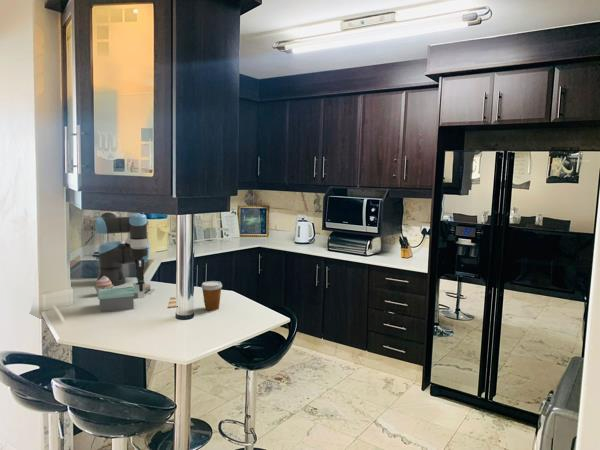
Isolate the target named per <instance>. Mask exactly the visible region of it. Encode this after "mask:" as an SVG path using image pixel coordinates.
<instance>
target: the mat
mask: <svg viewBox="0 0 600 450" xmlns="http://www.w3.org/2000/svg"><path fill="white" fill-rule="evenodd" d="M175 297H176V296H175ZM175 297H169V300H168V305H167V309H172V308H173V309H174V308H177V307H176V298H175Z"/></svg>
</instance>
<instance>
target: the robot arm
mask: <svg viewBox="0 0 600 450" xmlns="http://www.w3.org/2000/svg"><path fill="white" fill-rule="evenodd" d="M94 222H95V224H94V225H95V226H94V227H95V232H96V234H100V235H102V234H104V235H107V234H108V235H109V234H125V233H126V234H127V238H126V239H125V240H124V243H122V241H121V240H113V241H107V242H104V243H101V244H100V245H99V246H98V253H97V254H98V261H99V264H98V265H99V272H98V275H97V278H96V282H97V281H98V280H100V279H101V277H103V276H105V277H107V278H109V280H110V281H111V282H112V285H114V286H120V285H124V284H125V283H126V282H127V281H126V280H127V279H126V276H125V274H124V273H125V272H124V271H123V265H128V264H129V265H130V264H131V265H132V264H135V270H136V281H138V283H136V285H138V298H137V299H140V298H141V299H144V298H145V297H144V295H145V294H144V279H145V276H144V270H145V263H147V262H148V260H149V256H150V247H151V245H150V242H148V225H147V223H148V220H147V215H146V214H144V213H143V214H140V213H127V212H126V216H118V211H117V212H107V211H100V210H99V217H97V218H95V221H94ZM114 286H113V287H114Z"/></svg>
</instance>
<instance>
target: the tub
mask: <svg viewBox="0 0 600 450" xmlns="http://www.w3.org/2000/svg"><path fill="white" fill-rule="evenodd" d="M98 300H99V313H106V312H115V311H117V312H118V311H125V310H134V298H133V296H130V297H119V298H108V299H98Z"/></svg>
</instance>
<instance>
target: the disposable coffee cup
mask: <svg viewBox="0 0 600 450" xmlns="http://www.w3.org/2000/svg"><path fill="white" fill-rule="evenodd" d="M222 288H223V283H222V282H221V281H218V280H217V281H216V280H211V281H204V282H202V284H201V289H202V294H203V295H202V296H203V303H204V308H205V311H218V310H219V309H220V305H221V304H220V303H221V295H222Z"/></svg>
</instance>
